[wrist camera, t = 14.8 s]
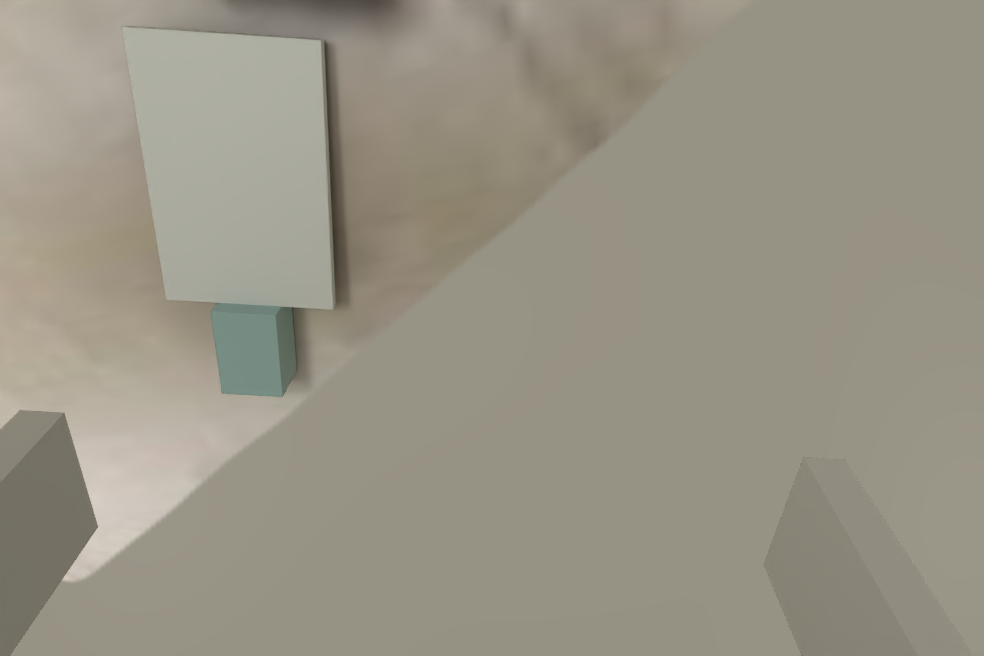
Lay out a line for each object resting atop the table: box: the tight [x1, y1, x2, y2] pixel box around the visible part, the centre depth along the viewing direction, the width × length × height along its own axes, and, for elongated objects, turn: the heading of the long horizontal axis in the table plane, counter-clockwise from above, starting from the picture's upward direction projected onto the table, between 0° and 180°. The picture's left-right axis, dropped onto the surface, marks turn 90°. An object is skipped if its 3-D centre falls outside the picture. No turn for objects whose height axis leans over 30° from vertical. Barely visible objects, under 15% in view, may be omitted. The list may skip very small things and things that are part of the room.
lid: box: [122, 26, 336, 397], centre depth 42 cm, size 22×11×4 cm, turn 176°
